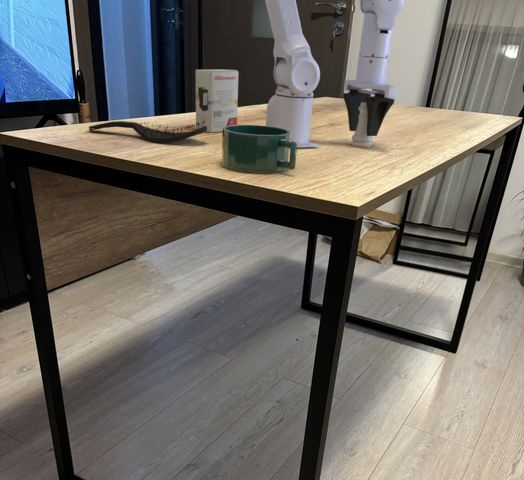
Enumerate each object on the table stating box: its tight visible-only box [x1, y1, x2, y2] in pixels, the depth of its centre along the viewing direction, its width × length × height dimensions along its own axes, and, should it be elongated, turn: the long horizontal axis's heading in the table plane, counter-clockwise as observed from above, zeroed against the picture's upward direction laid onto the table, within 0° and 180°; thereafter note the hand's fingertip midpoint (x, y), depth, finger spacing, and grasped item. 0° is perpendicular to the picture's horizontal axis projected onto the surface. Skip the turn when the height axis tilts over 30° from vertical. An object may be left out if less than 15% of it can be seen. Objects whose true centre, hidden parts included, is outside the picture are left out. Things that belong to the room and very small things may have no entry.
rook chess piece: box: [350, 102, 374, 148], centre depth 108 cm, size 4×4×8 cm
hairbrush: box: [88, 120, 207, 144], centre depth 103 cm, size 8×4×25 cm
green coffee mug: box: [221, 124, 298, 174], centre depth 84 cm, size 14×11×6 cm
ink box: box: [195, 69, 239, 134], centre depth 114 cm, size 9×5×12 cm, turn 141°
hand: (362, 133), depth 109 cm, fingers open, 5 cm apart
